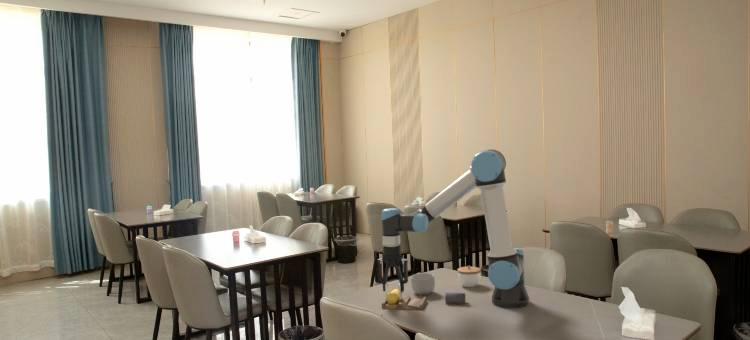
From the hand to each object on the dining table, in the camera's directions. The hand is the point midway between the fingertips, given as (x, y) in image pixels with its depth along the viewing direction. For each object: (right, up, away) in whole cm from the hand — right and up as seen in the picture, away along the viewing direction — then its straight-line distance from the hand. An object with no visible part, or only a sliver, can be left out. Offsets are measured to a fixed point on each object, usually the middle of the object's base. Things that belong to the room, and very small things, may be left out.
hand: (393, 298), depth 225 cm
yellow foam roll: (0, +1, 0) cm, 1 cm away
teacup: (+14, -1, +17) cm, 22 cm away
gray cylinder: (+26, +1, -2) cm, 26 cm away
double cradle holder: (+4, -2, -1) cm, 5 cm away
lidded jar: (+37, 0, +24) cm, 44 cm away
